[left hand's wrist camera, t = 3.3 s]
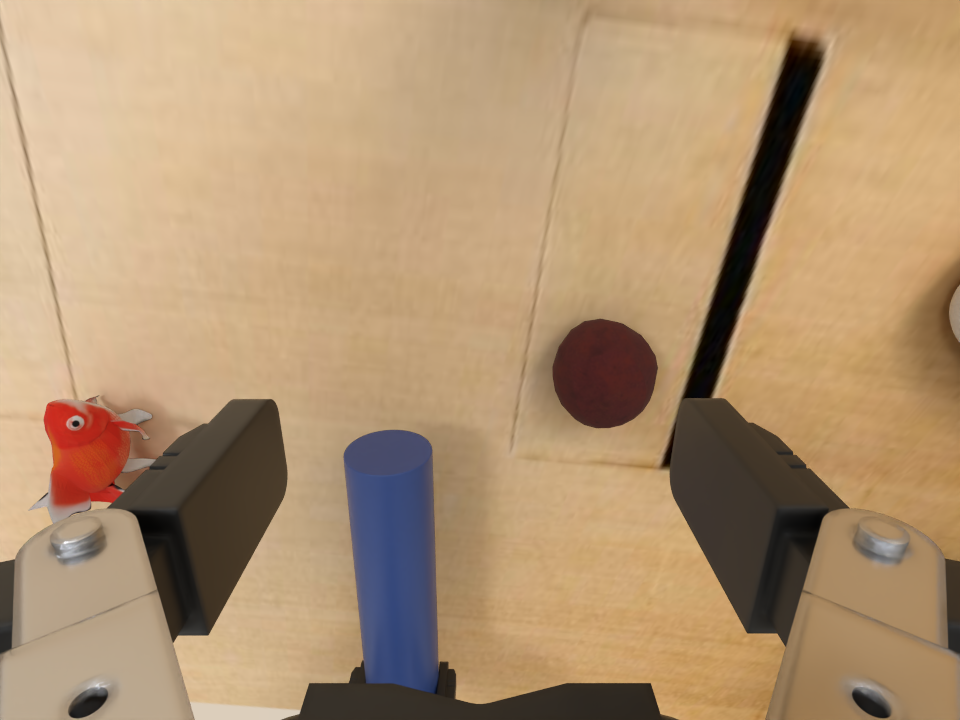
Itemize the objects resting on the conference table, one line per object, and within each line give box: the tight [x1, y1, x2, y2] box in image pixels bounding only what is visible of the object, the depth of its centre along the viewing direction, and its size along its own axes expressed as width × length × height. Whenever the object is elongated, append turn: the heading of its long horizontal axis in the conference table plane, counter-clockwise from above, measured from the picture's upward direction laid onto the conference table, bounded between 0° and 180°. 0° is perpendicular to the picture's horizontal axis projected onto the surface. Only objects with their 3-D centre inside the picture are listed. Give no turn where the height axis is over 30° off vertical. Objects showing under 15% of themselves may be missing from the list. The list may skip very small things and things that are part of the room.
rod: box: [344, 430, 439, 694], centre depth 41 cm, size 25×6×6 cm, turn 0°
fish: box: [28, 396, 156, 524], centre depth 42 cm, size 11×16×10 cm
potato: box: [553, 319, 658, 428], centre depth 39 cm, size 7×8×7 cm
